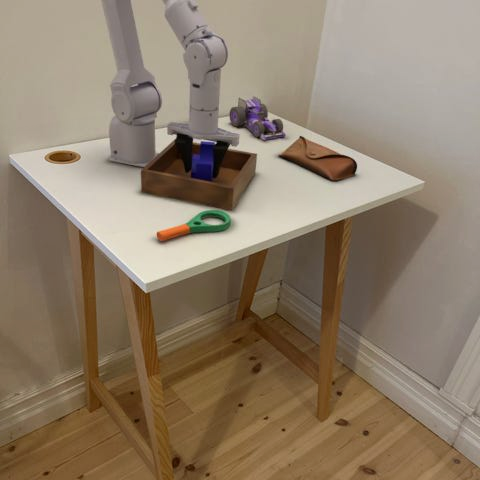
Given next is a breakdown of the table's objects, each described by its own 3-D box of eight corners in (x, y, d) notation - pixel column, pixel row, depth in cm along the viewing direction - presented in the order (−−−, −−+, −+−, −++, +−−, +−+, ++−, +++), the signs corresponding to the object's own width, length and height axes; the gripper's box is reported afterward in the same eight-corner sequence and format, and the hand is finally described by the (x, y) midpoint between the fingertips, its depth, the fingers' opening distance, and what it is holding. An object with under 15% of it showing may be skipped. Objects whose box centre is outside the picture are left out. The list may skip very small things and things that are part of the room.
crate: (141, 192, 104) (140, 170, 101) (175, 158, 118) (175, 138, 115) (232, 210, 101) (233, 188, 98) (255, 173, 115) (257, 153, 112)
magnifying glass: (216, 212, 100) (217, 204, 98) (236, 225, 96) (237, 217, 95) (149, 234, 91) (149, 225, 90) (169, 249, 88) (169, 240, 87)
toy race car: (259, 142, 131) (262, 116, 127) (228, 123, 140) (230, 98, 136) (289, 137, 135) (293, 111, 131) (257, 119, 144) (259, 94, 140)
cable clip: (193, 167, 114) (193, 140, 110) (213, 169, 114) (214, 142, 110) (188, 191, 104) (188, 162, 101) (210, 193, 105) (211, 164, 101)
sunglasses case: (275, 154, 124) (288, 127, 122) (289, 163, 129) (302, 138, 128) (334, 181, 114) (349, 152, 113) (347, 189, 120) (361, 162, 118)
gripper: (161, 106, 98) (162, 174, 106) (234, 118, 95) (229, 187, 104) (174, 96, 103) (174, 162, 112) (244, 108, 101) (238, 174, 109)
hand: (201, 173), depth 108 cm, fingers closed on cable clip, 5 cm apart
